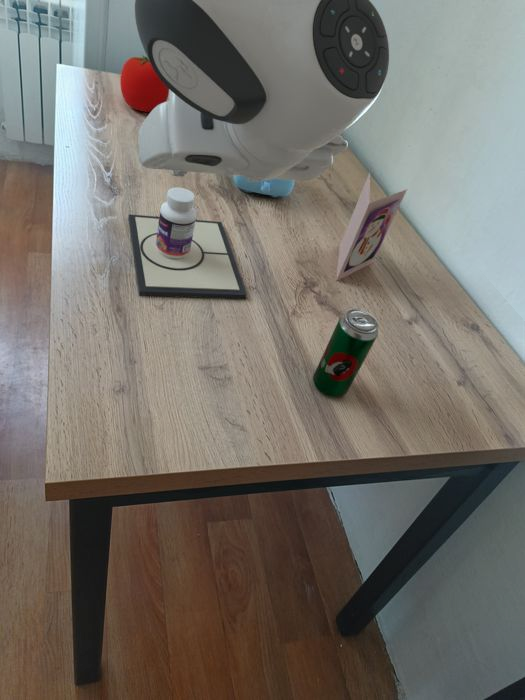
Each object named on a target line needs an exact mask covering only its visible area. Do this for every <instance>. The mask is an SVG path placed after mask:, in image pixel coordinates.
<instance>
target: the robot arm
mask: <svg viewBox="0 0 525 700" xmlns="http://www.w3.org/2000/svg"><path fill="white" fill-rule="evenodd" d="M134 18H135V25H136V29H137V34H138V37H139V39H140V42H141V45H142V48H143V50H144V52H145V55H146V57H147V59H149V61H150V63H151V65H152V67H153V69H154V71H155V73H156V74H157V76H158V77H159V79H160V80H161V81H162V82H163V83H164V84H165V85H166V86H167V87H168V88H169V93H168V99H167V100H166V102H163V103H161V104H159V105H157V106H156V107H155V108H154V109H153V110H152V111H151V112H149V114H148V115H147V116H146V118H145V119H144V121H143V123H142V124H141V125H140V128H139V131H138V135H137V137H138V139H137V140H138V142H137V143H138V157H139V163H140V165H141V166H143V167H144V168H145V169H150V170H151V169H152V170H162V171H163V170H164V171H170V176H172V177H185V176H186V175H187V174H188V173H198V174H199V173H201V174H210V175H211V174H212V175H225V176H233V175H235V176H244V177H246V178H248V181H249V182H258V183H260V182H261V181H266V180H271V179H283V180H295V182H296V181H297V182H308V181H312V180H313V181H314V180H316V179H317V178H318V177H320V176H321V175H323V174H324V173H325V172H326V171H327V170H329V168H331V166H332V165H333V162H334V158H333V157H336V156H338V155H341V154H342V153H343V152H346V150H347V149H348V145H349V143H348V141H347V140H345V139H343V137H342V136H341V135H342V133H344V132H345V131H346V130H347V129H348V128H350V127H351V126H352V125H353V124H354V123H355V122H357V121H358V120H359V119H360V118H361V117H362V116H363V115H364V114H365V113H366V112H367V111H368V110H369V109H370V108H371V107H372V105H373V104H374V103H375V101H376V100H377V99H378V97H379V95H380V93H381V92H382V89H383V87H384V84H385V81H386V79H387V75H388V71H389V63H390V46H389V38H388V33H387V29H386V27H385V24H384V21H383V19H382V17H381V14H380V13H379V11H378V9H377V8H376V7H375V5H374V4H373V3H372V1H371V0H135V1H134Z"/></svg>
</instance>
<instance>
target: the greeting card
mask: <svg viewBox="0 0 525 700" xmlns="http://www.w3.org/2000/svg"><path fill="white" fill-rule="evenodd" d="M407 191H408V188H406V189H403V190H401V191H397V192H395V193H393V194H389V195H387V196H384V197H382V198H379V199H376V200H374V201H371V172H369V173H368V175H367V178H366V180H365V182H364V185H363V188H362V190H361V192H360V194H359V198H358V200H357V202H356V205H355V207H354V209H353V212H352V215H351V217H350V220H349V222H348V223H347V227H346V229H345V231H344V234H343V236H342V239H341V241H340V244H339V247H338V257H337V270H336V272H337V273H336V281H339V280H341V279H344V278H345V277H347V276H350V275H351V274H354V273H356V272H358V271H359V270H361V269H363V268H366V267H367V266H369V265H372V264H373V263H374V261H375V259H376V257H377V255H378V253H379V251H380V248H381V246H382V244H383V242H384V240H385V237H386V235H387V234H388V232H389V229H390V228H391V225H392V223H393V221H394V219H395V216H396V214H397V213H398V210H399V208H400V206H401V204H402V202H403V200H404V198H405V195H406V193H407Z"/></svg>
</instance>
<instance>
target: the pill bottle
mask: <svg viewBox="0 0 525 700" xmlns="http://www.w3.org/2000/svg"><path fill="white" fill-rule="evenodd" d="M195 198H196V196H195V194H194V193H193V192H192V191H191V190H190V189H187V188H184V187H179V186H178V187H177V186H176V187H172V188H171V187H170V188H169V189H168V190H167V193H166V198H165V199H166V201H165V202H163V203H162V204H161V206H160V208H159V216H158V217H159V223H158V231H157V238H156V249H157V250H158V252H159V253H160V254H162V255H163V256H165V257H168V258H173V259H180V258H184V257H186V256H187V255H188V254H189V252H190V248H191V243H192V238H193V232H194V227H195V222H196V220H197V211H196V208H195V207H194V205H195V201H196V200H195Z"/></svg>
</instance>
